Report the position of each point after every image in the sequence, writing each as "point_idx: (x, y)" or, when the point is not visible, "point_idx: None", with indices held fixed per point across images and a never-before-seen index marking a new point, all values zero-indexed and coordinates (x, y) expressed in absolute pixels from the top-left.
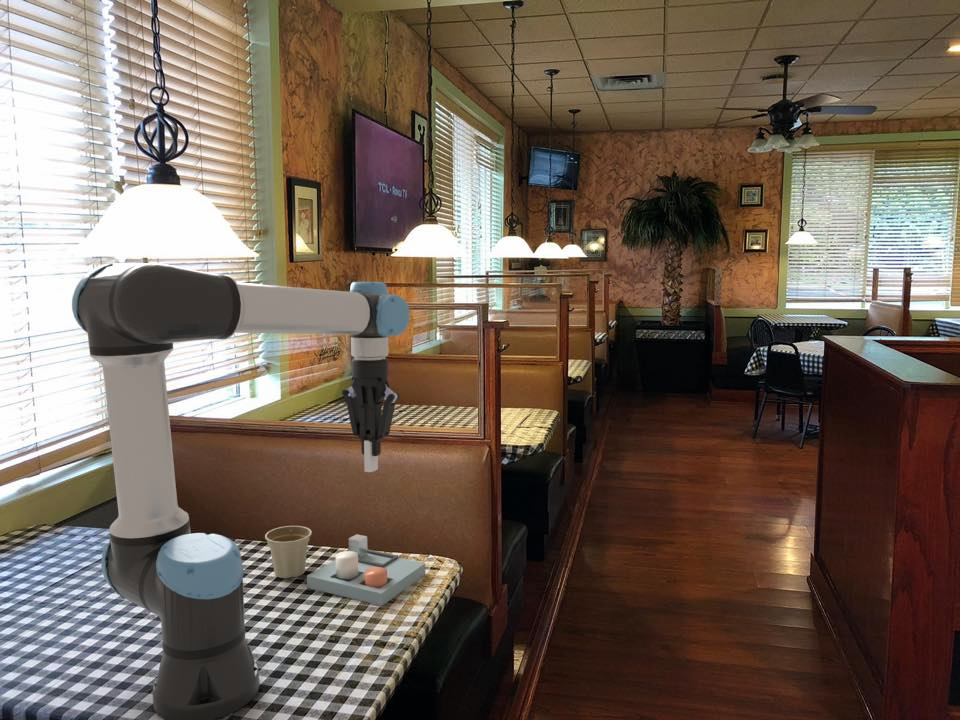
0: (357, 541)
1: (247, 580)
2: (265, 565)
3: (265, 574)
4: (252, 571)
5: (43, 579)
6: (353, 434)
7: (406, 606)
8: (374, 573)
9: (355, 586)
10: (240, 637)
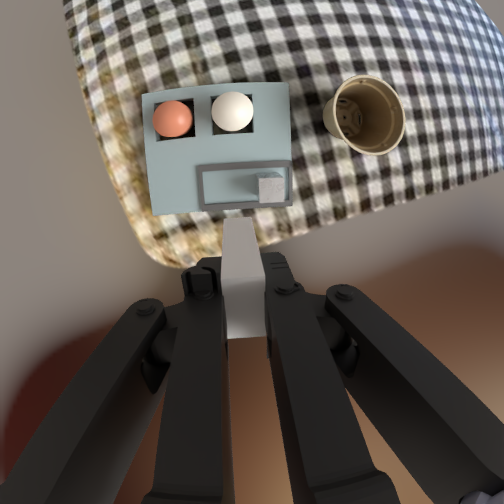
0: (263, 178)
1: None
2: None
3: None
4: None
5: (500, 49)
6: (352, 287)
7: (119, 116)
8: (168, 111)
9: (191, 88)
10: None
